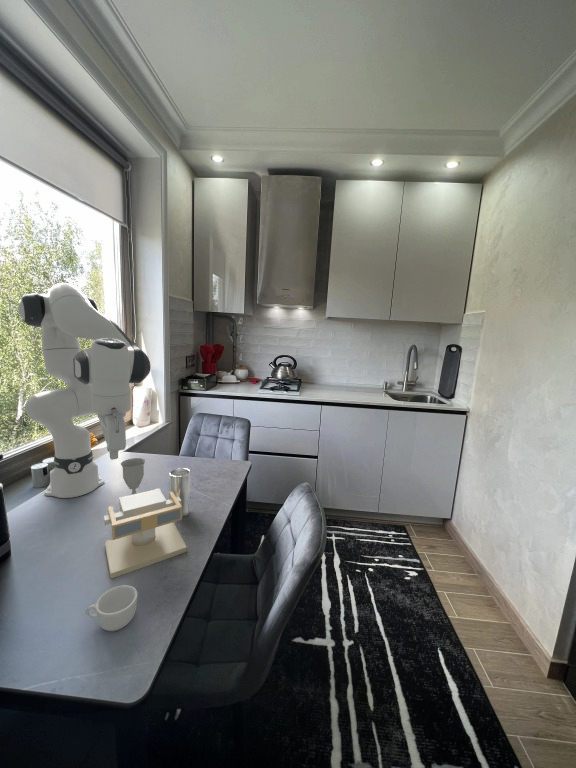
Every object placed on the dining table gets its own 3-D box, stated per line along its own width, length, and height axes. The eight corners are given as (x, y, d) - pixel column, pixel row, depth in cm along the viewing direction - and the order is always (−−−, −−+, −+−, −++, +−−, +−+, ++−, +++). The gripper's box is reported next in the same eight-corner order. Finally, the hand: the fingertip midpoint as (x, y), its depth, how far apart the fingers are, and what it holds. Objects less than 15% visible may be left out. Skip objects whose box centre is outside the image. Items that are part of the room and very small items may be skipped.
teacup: (141, 603, 72) (141, 582, 71) (132, 634, 65) (131, 612, 64) (94, 608, 70) (92, 587, 69) (78, 642, 63) (77, 619, 62)
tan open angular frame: (108, 520, 86) (108, 506, 85) (172, 503, 95) (172, 491, 95) (113, 540, 78) (112, 525, 77) (182, 519, 88) (182, 506, 87)
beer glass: (184, 520, 104) (184, 478, 101) (165, 516, 105) (164, 475, 103) (194, 509, 110) (194, 469, 108) (176, 505, 112) (176, 466, 109)
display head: (103, 546, 90) (101, 501, 87) (174, 525, 101) (173, 485, 98) (109, 579, 78) (107, 528, 76) (187, 551, 90) (187, 506, 87)
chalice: (122, 519, 102) (120, 468, 99) (122, 509, 108) (120, 459, 105) (147, 515, 105) (145, 464, 102) (145, 504, 111) (144, 456, 108)
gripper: (132, 413, 73) (133, 468, 76) (119, 393, 89) (120, 439, 92) (101, 416, 70) (102, 473, 72) (93, 395, 86) (95, 442, 88)
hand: (112, 454), depth 82 cm, fingers open, 4 cm apart
